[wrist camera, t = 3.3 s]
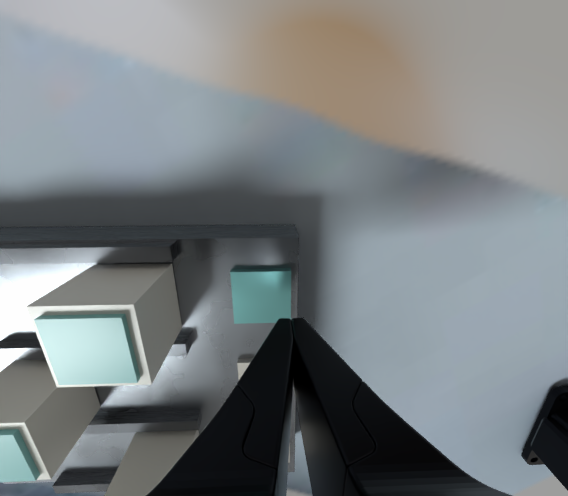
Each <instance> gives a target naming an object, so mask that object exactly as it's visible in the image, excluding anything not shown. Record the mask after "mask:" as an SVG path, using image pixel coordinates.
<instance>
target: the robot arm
mask: <svg viewBox="0 0 568 496" xmlns="http://www.w3.org/2000/svg"><path fill="white" fill-rule="evenodd" d="M293 387H294V394H295V400H296V405H297V411H298V416H299V422H300V427H301V433H302V438H303V444H304V450H305V455H306V461H307V466H308V472H309V477H310V483H311V488H312V494H313V496H512V495H509V494H506V493H503V492H501V491H498V490H496V489H493V488H491V487H489V486H487V485H485V484H483V483H481V482H479V481H478V480H476V479H474V478H473V477H471V476H470V475H468V474H467V473H466V472H464V471H463V470H461V469H460V468H459V467H458V466H456V465H455V464H454V463H453V462H452V461H450V460H449V459H448V458H447V457H446V456H445V455H443V454H442V453H441V452H440V451H439V450H438V449H437V448H435V447H434V446H433V445H432V444H431V443H430V442H428V441H427V440H426V439H425V438H424V437H423V436H422V435H420V434H419V433H418V432H417V431H416V430H415V429H413V428H412V427H411V426H410V425H409V424H408V423H406V422H405V421H404V420H403V419H402V418H401V417H400V416H399V415H398V414H396V413H395V412H394V411H393V410H392V409H391V408H390V407H389V406H388V405H386V404H385V403H384V402H383V401H382V400H381V399H380V398H379V397H378V396H377V395H376V394H375V393H374V392H373V391H372V390H371V388H370V387H369V386H368V385H367V384H366V383H365V382H362V379H361V378H360V377H359V376H358V375H357V374H356V373H355V372H354V371H353V370H352V369H351V368H350V367H349V366H348V365H347V363H346V362H345V361H344V360H343V359H342V358H341V357H340V356H339V355H338V354H337V353H336V352H335V351H334V350H333V349H332V348H331V347H330V346H329V345H328V344H327V342H326V341H325V340H324V339H323V338H322V337H321V336H320V335H319V334H318V333H317V332H316V331H315V330H314V329H313V328H312V327H311V326H310V325H309V324H308V323H307V321H306V320H305V319H304V318H292V319H290V318H279V319H278V320H277V322H276V323H275V325H274V327H273V328H272V330H271V331H270V333H269V334H268V336H267V337H266V339H265V341H264V342H263V344H262V345H261V347H260V348H259V350H258V351H257V353H256V355H255V356H254V358H253V359H252V361H251V362H250V364H249V365H248V367H247V369H246V370H245V372H244V373H243V375H242V376H241V378H240V379H239V381H238V382H237V385H236V386H235V387H234V388H233V390H232V392H231V393H230V395H229V396H228V398H227V399H226V401H225V402H224V403H223V405H222V406H221V408H220V409H219V411H218V412H217V413H216V415H215V416H214V417H213V418H212V420H211V421H210V422H209V423H208V425H207V426H206V427H205V428H204V430H203V431H202V432H201V433H200V434H199V436H198V437H197V438H196V439H195V440H194V442H193V443H192V444H191V445H190V447H189V448H188V449H187V450H186V451H185V453H184V454H183V455H182V456H181V457H180V459H179V460H178V461H177V462H176V463H175V465H174V466H173V467H172V468H171V469H170V471H169V472H168V473H167V474H166V475H165V477H164V478H163V479H162V480H161V481H160V482H159V483H158V484H157V485H156V486H155V487H154V488H153V489H152V490H151V491H150V492H149V493H148V494H147V495H146V496H286V491H287V475H288V460H289V445H290V429H291V414H292V399H293ZM521 456H522V457H523V459H524V460H525V461H526V462H527V464H529V465H539V464H545V465H546V466H547V467H548V469H549V470H550V471H551V472H552V473H553V474H554V475H555V477H556V478H557V479H558V480H559V481H560V482H561V483H562V485H563V486H564V487H565V488H566V489H567V490H568V386H563V387H556V388H554V389H552V390H551V391H550V392H549V394H548V397H547V399H546V401H545V403H544V405H543V408H542V410H541V412H540V414H539V417H538V419H537V421H536V423H535V425H534V428H533V430H532V432H531V434H530V437H529V439H528V441H527V443H526V445H525V448H524V450H523V452H522V455H521Z"/></svg>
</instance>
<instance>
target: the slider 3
mask: <svg viewBox="0 0 568 496" xmlns="http://www.w3.org/2000/svg"><path fill="white" fill-rule="evenodd" d="M198 436H199V431H198V430H188V431H160V432H136V433H135V435H134V437H133V439H132V441H131V443H130V445H129V447H128V449H127V451H126V453H125V455H124V457H123V459H122V461H121V463H120V465H119V467H118V469H117V471H116V473H115V475H114V477H113V479H112V481H111V483H110V485H109V487H108V489H107V491H106V493H105V495H104V496H146V495H147V494H148V493H149V492H150V491H151V490H152V489H153V488H154V487H155V486H156V485H157V484H158V483H159V482H160V481H161V480H162V479H163V478H164V477H165V475H166V474H167V473H168V472H169V471H170V469H171V468H172V467H173V466H174V465H175V463H176V462H177V461H178V460H179V459H180V457H181V456H182V455H183V454H184V453H185V451H186V450H187V449H188V448H189V447H190V445H191V444H192V443H193V442H194V440H195V439H196V438H197V437H198Z"/></svg>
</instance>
